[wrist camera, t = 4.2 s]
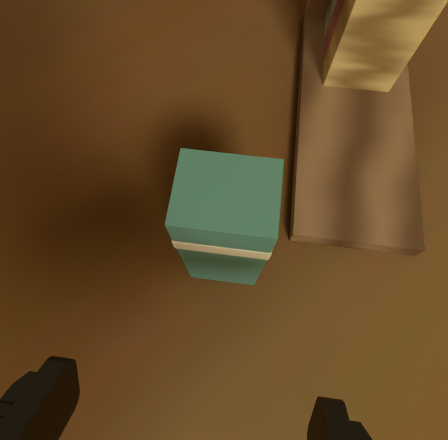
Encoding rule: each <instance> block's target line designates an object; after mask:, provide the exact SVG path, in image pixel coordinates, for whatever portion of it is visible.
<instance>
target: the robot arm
mask: <svg viewBox="0 0 448 440" xmlns="http://www.w3.org/2000/svg"><path fill="white" fill-rule="evenodd" d="M79 393H80V388H79V381H78V373H77V366H76V361H75V360H74V359H69V358H63V357H56V356H51V357H49V358H48V359H47V360H46V361H45V362H44V364H43V365H42V366H41V368H40V369H39V371H38V372H32V371H29V372H28V373H26V374H25V375H24V376H22V377H21V378H20V379H18V380H17V381H16V382H14V383H13V384H12V385H11V386H10V388H9V389H8V390H7V391H6V393H5V394H4V395H3V396H2V398H1V399H0V440H58V439H59V438H60V436H61V434H62V432H63V430H64V428H65V427H66V425H67V423H68V421H69V419H70V417H71V416H72V414H73V412H74V410H75V408H76V405H77V402H78V399H79ZM307 440H372V439H371V437H370V436H369V434H368V433H367V431H366V430H365V428H364V427H363V425H362V424H361V422H356V421H349V417H348V413H347V410H346V406H345V403H344V402H343V400H339V399H333V398H326V397H318V398H317V400H316V403H315V406H314V409H313V413H312V416H311V419H310V422H309V426H308V432H307Z"/></svg>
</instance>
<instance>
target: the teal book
mask: <svg viewBox="0 0 448 440" xmlns="http://www.w3.org/2000/svg"><path fill="white" fill-rule="evenodd" d="M283 164H284V159H275V158H266V157H257V156H248V155H239V154H230V153H221V152H212V151H203V150H194V149H185V148H180V153H179V158H178V163H177V167H176V172H175V177H174V182H173V187H172V192H171V196H170V201H169V206H168V211H167V216H166V221H165V227H166V229H167V231H168V233H169V235H170V237H171V239H172V244H173V246H174V248H176V249H177V251H178V253H179V254H180V256H181V258H182V260H183V262H184V264H185V266H186V268H187V270H188V272H189V274H190V276H191V277H195V278H203V279H210V280H218V281H226V282H234V283H241V284H249V285H255V283H256V281H257V279H258V277H259V275H260V273H261V271H262V269H263V267H264V265H265V263H266V261H267V260H269V258H270V256H271V254H272V249H273V248H274V246H275V244H276V242H277V240H278V231H279V217H280V204H281V191H282V177H283Z"/></svg>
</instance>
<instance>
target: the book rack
mask: <svg viewBox="0 0 448 440" xmlns="http://www.w3.org/2000/svg"><path fill="white" fill-rule="evenodd" d="M447 2H448V0H307V4H306V9H305V13H304V17H303V27H302V43H301V59H300V76H299V92H298V108H297V125H296V141H295V157H294V174H293V190H292V206H291V223H290V239H289V240H291V241H299V242H307V243H316V244H324V245H332V246H340V247H348V248H356V249H364V250H373V251H381V252H389V253H397V254H405V255H413V256H414V255H416V254H419V253H421V252H423V251H425V247H424V236H423V226H422V215H421V204H420V193H419V182H418V171H417V160H416V150H415V139H414V128H413V117H412V106H411V95H410V84H409V73H408V62H409V60H410V58H411V57H412V55H413V54H414V52H415V51H416V49H417V48H418V46H419V45H420V43H421V42H422V40H423V39H424V37H425V35H426V34H427V32H428V31H429V29H430V28H431V26H432V25H433V23H434V22H435V20H436V19H437V17H438V16H439V14H440V12H441V11H442V9H443V8H444V6H445V5H446V3H447Z"/></svg>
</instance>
